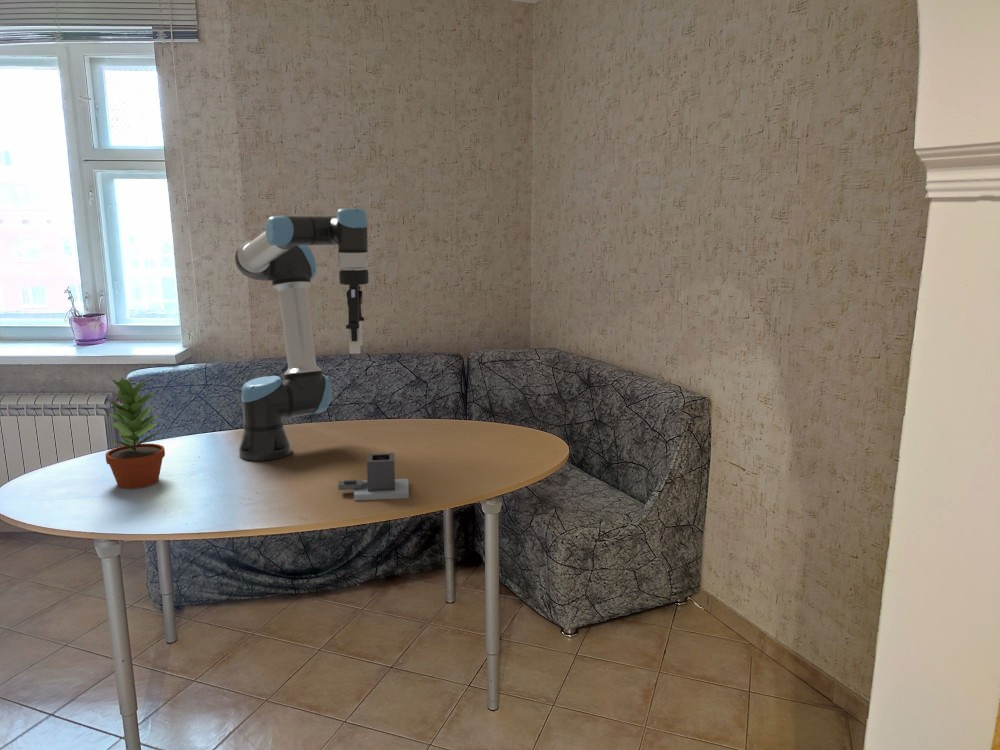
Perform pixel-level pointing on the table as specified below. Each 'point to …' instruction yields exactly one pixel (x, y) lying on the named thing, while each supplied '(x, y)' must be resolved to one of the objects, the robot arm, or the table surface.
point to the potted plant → (134, 440)
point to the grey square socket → (375, 474)
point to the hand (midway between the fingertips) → (356, 349)
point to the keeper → (384, 492)
